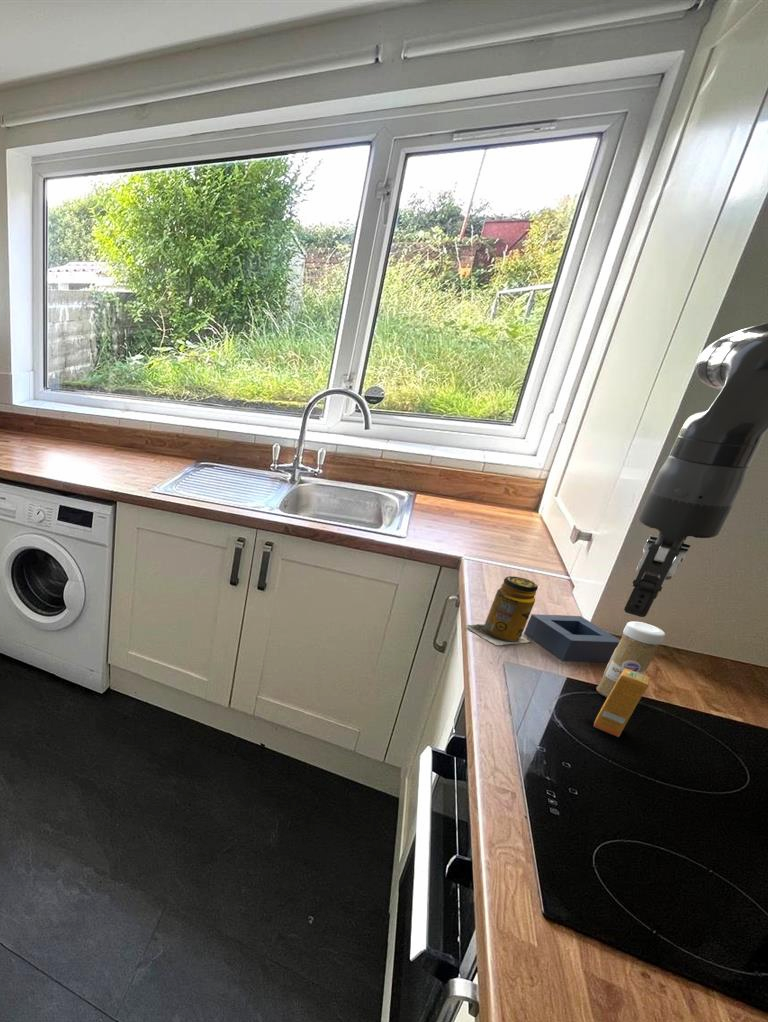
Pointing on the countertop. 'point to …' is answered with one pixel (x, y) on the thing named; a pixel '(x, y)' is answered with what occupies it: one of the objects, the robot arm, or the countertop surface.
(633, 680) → the supplement box
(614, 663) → the sprinkles bottle
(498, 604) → the condiment
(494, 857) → the countertop surface
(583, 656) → the socket block
